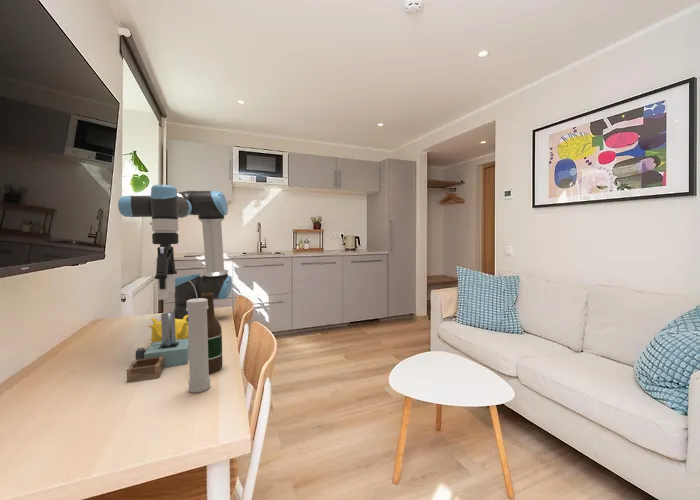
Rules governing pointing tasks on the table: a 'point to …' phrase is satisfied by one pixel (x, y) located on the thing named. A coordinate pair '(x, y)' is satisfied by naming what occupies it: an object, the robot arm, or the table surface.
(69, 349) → the table surface
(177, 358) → the chuck block
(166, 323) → the cylinder
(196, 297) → the robot arm
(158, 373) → the brown wooden tray
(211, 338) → the beer bottle
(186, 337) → the teapot
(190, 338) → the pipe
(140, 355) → the block
